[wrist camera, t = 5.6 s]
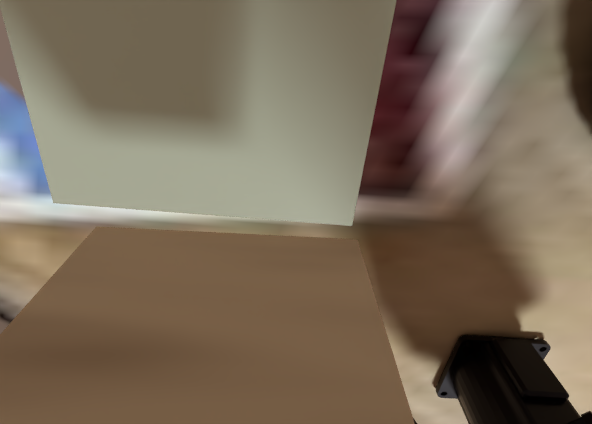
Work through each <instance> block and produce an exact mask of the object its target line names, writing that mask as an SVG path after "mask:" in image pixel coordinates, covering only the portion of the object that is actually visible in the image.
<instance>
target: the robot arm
mask: <svg viewBox="0 0 592 424" xmlns="http://www.w3.org/2000/svg"><path fill="white" fill-rule="evenodd" d="M549 350H550V345H549V344H548V343H547V342H546V341H545V340H538V339H522V338H506V337H490V336H474V335H464V336H461V337H460V338H459V339H458V341H457V343H456V345H455V347H454V350H453V352H452V354H451V356H450V358H449V361H448V363H447V365H446V367H445V370H444V372H443V374H442V376H441V378H440V381H439V383H438V385H437V387H436V392H437V395H438V396H439V397H441V398H456V399H458V400H459V402H460V405H461V407H462V409H463V412H464V414H465V416H466V418H467V421H468V423H469V424H592V412H591V411H588V412H586V413H584V414H582V415H581V416H582V417H580V415H579V414H578V413H577V411H576V410H575V409H574V407H573V406H572V404H571V403H570V402H569V400H568V398H569V395H568V393H567V391H566V390H565V389H564V387H563V386H562V385H561V383H560V382H559V381H558V379H557V378H556V376H555V375H554V374H553V372H552V371H551V370H550V368H549V367H548V366H547V364H546V363H545V361H544V358H545V356H546V355H547V353H548V352H549ZM413 420H414V418H413ZM414 423H415V424H417V423H416V421H415V420H414Z"/></svg>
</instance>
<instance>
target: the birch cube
mask: <svg viewBox="0 0 592 424" xmlns="http://www.w3.org/2000/svg"><path fill="white" fill-rule="evenodd" d="M0 424H415V423H414V420H413V417H412V414H411V410H410V407H409V404H408V401H407V397H406V394H405V391H404V388H403V385H402V381H401V378H400V375H399V372H398V369H397V365H396V362H395V359H394V356H393V352H392V349H391V346H390V343H389V340H388V336H387V333H386V330H385V327H384V324H383V320H382V317H381V314H380V311H379V307H378V304H377V301H376V298H375V295H374V291H373V288H372V285H371V282H370V279H369V275H368V272H367V269H366V266H365V262H364V259H363V256H362V253H361V250H360V246H359V243H358V240H357V239H337V238H317V237H297V236H277V235H257V234H236V233H216V232H196V231H176V230H156V229H135V228H115V227H96V228H95V229H94V230H93V231H92V232H91V233H90V235H89V236H88V237H87V238H86V239H85V240H84V241H83V242H82V243H81V245H80V246H79V247H78V248H77V249H76V250H75V251H74V252H73V254H72V255H71V256H70V257H69V258H68V259H67V260H66V261H65V263H64V264H63V265H62V266H61V267H60V268H59V269H58V270H57V271H56V273H55V274H54V275H53V276H52V277H51V278H50V279H49V280H48V282H47V283H46V284H45V285H44V286H43V287H42V288H41V289H40V290H39V292H38V293H37V294H36V295H35V296H34V297H33V298H32V299H31V301H30V302H29V303H28V304H27V305H26V306H25V307H24V308H23V310H22V311H21V312H20V313H19V314H18V315H17V316H16V317H15V318H14V320H13V321H12V322H11V323H10V324H9V325H8V326H7V327H6V329H5V330H4V331H3V332H2V333H1V334H0Z"/></svg>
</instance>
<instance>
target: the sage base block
mask: <svg viewBox="0 0 592 424" xmlns="http://www.w3.org/2000/svg"><path fill="white" fill-rule="evenodd" d="M395 6H396V0H0V9H1V12H2V16H3V20H4V24H5V27H6V30H7V34H8V38H9V42H10V46H11V49H12V53H13V57H14V60H15V64H16V67H17V71H18V75H19V78H20V82H21V86H22V89H23V93H24V97H25V100H26V104H27V108H28V111H29V115H30V119H31V122H32V126H33V130H34V133H35V137H36V141H37V144H38V148H39V152H40V155H41V159H42V163H43V166H44V170H45V174H46V177H47V181H48V185H49V188H50V192H51V196H52V199H53V203H60V204H73V205H86V206H99V207H112V208H125V209H138V210H151V211H164V212H177V213H190V214H203V215H216V216H229V217H242V218H255V219H268V220H281V221H294V222H307V223H320V224H333V225H346V226H352V223H353V218H354V213H355V208H356V203H357V198H358V193H359V188H360V183H361V178H362V173H363V168H364V163H365V158H366V152H367V147H368V142H369V137H370V132H371V127H372V122H373V117H374V112H375V107H376V102H377V97H378V92H379V87H380V82H381V76H382V71H383V66H384V61H385V56H386V51H387V46H388V41H389V36H390V31H391V26H392V21H393V16H394V11H395Z"/></svg>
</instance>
